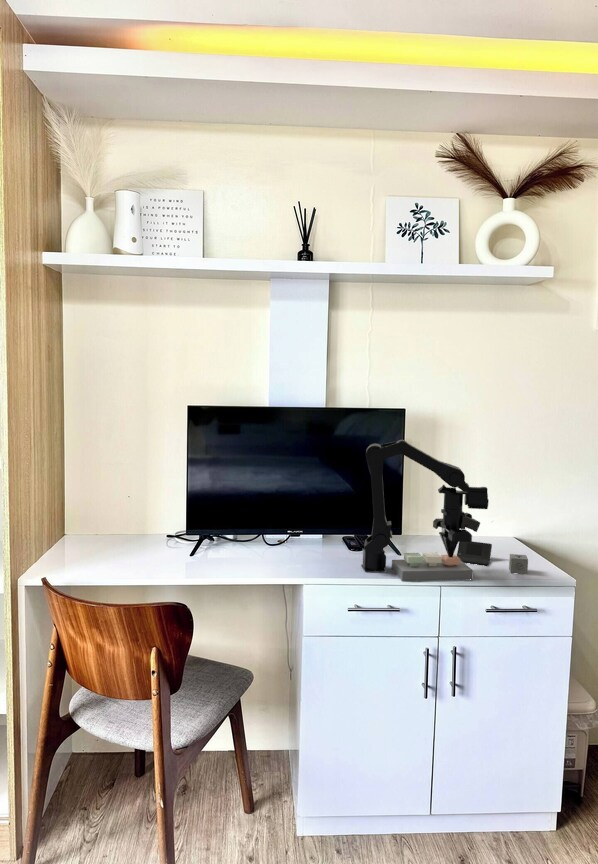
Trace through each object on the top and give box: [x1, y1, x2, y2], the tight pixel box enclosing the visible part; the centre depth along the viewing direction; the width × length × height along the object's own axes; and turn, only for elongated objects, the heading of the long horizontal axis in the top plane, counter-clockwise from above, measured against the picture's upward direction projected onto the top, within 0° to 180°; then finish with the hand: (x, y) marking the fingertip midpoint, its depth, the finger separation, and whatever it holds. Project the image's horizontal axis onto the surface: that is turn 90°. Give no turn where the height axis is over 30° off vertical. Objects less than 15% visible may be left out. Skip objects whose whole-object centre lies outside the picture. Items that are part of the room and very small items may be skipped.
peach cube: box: [440, 554, 460, 566], centre depth 216 cm, size 5×5×5 cm
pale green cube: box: [403, 552, 423, 567], centre depth 215 cm, size 5×5×5 cm
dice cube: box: [508, 553, 529, 575], centre depth 221 cm, size 5×5×5 cm
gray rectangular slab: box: [391, 558, 474, 582], centre depth 216 cm, size 22×12×3 cm, turn 98°
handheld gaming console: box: [456, 540, 493, 567], centre depth 232 cm, size 12×7×10 cm
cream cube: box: [421, 552, 442, 566], centre depth 215 cm, size 5×5×5 cm
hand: (450, 556), depth 216 cm, fingers closed, pressing on peach cube
